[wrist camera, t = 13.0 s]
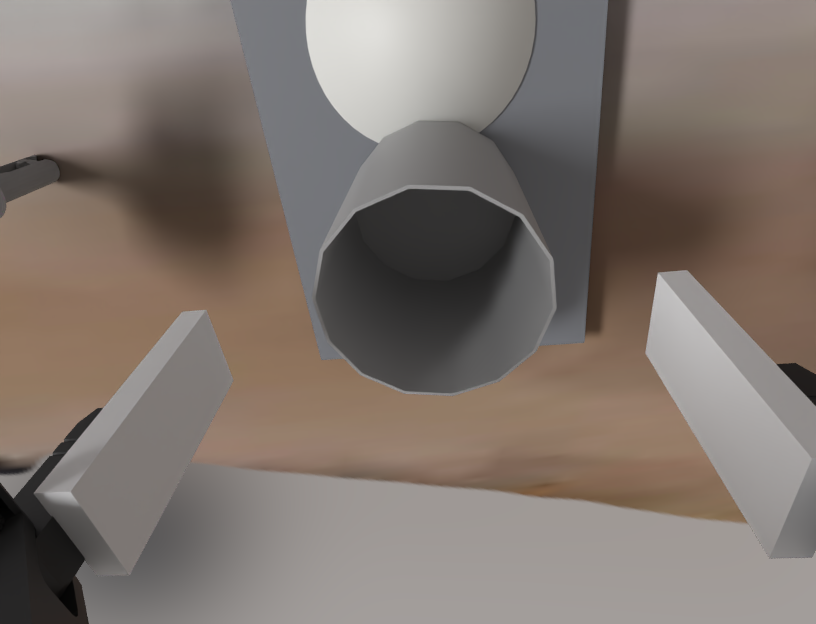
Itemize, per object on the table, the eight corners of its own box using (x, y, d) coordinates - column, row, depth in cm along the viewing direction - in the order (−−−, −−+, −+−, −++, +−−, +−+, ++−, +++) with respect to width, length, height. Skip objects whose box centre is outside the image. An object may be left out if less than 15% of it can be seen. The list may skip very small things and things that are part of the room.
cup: (356, 273, 28) (320, 389, 20) (349, 118, 24) (300, 181, 15) (507, 279, 28) (538, 400, 19) (528, 123, 23) (580, 190, 15)
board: (221, -75, 21) (170, -96, 17) (608, -139, 20) (652, -179, 16) (325, 348, 32) (308, 396, 28) (579, 331, 31) (600, 379, 27)
